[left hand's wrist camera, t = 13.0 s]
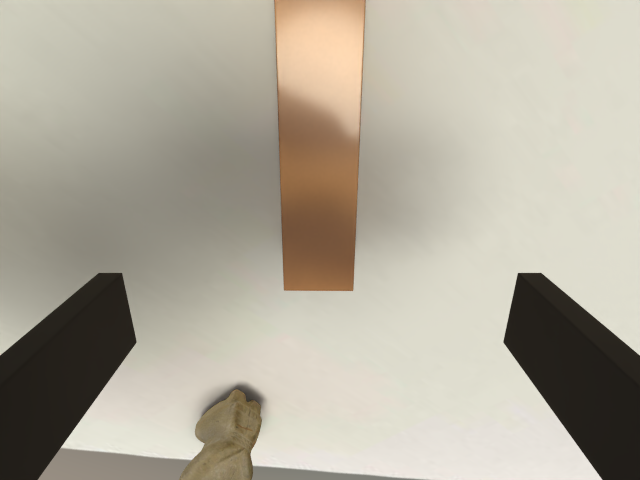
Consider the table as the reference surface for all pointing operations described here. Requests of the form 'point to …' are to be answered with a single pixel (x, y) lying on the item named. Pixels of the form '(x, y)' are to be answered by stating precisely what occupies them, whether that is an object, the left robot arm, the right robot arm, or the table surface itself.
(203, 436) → the sculpture
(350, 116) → the post
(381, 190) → the table surface
